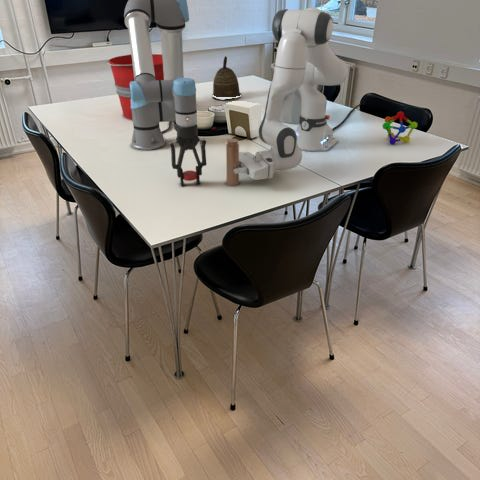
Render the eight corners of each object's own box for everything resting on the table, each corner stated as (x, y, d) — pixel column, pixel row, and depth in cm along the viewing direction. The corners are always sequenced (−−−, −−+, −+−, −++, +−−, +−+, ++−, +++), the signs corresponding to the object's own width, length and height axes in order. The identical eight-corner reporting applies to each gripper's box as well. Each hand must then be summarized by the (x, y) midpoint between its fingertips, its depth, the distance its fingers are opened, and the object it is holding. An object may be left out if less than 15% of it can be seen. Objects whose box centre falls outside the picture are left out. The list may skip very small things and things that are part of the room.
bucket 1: (122, 105, 264) (115, 51, 248) (181, 105, 263) (177, 51, 248) (106, 122, 235) (96, 62, 219) (171, 123, 234) (167, 63, 218)
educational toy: (377, 146, 209) (379, 114, 202) (384, 138, 219) (386, 107, 211) (411, 149, 202) (415, 116, 195) (417, 141, 212) (420, 109, 204)
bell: (227, 105, 294) (202, 96, 282) (238, 66, 289) (213, 55, 277) (243, 108, 280) (217, 98, 268) (255, 66, 275) (229, 55, 263)
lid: (181, 176, 170) (180, 171, 169) (195, 174, 172) (194, 169, 171) (184, 181, 166) (184, 177, 165) (199, 179, 168) (198, 175, 167)
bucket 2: (296, 131, 225) (301, 73, 210) (257, 117, 244) (258, 64, 229) (334, 119, 242) (340, 65, 227) (294, 108, 260) (297, 57, 246)
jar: (241, 184, 171) (241, 141, 161) (230, 186, 169) (230, 143, 159) (234, 179, 174) (234, 137, 165) (224, 182, 172) (223, 139, 163)
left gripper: (162, 129, 153) (167, 190, 165) (214, 125, 157) (215, 185, 169) (159, 123, 159) (164, 182, 171) (209, 119, 164) (211, 177, 176)
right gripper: (251, 146, 179) (219, 151, 174) (275, 164, 163) (241, 169, 158) (251, 160, 182) (220, 166, 177) (274, 179, 166) (241, 186, 161)
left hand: (190, 183), depth 170 cm, fingers closed on lid, 5 cm apart
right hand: (230, 168), depth 167 cm, fingers closed on jar, 5 cm apart
